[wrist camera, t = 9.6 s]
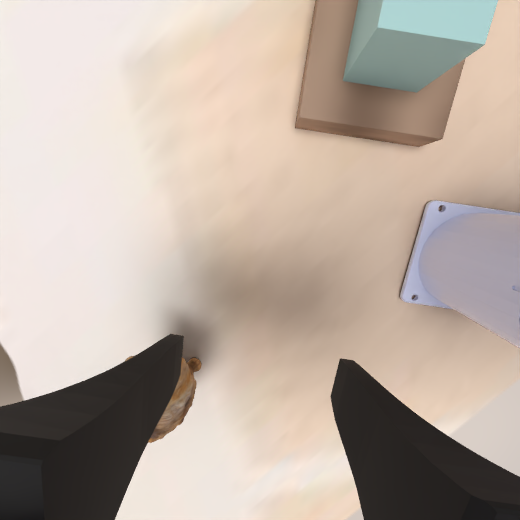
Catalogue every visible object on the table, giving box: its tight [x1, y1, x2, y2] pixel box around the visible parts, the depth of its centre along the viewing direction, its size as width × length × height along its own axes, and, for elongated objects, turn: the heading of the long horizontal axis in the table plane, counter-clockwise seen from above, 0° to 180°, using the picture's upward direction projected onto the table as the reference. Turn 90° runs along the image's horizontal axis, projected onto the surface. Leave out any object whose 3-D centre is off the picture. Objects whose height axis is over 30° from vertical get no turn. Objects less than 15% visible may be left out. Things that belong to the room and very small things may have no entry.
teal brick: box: [343, 0, 498, 93], centre depth 13 cm, size 4×4×5 cm
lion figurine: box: [125, 356, 201, 443], centre depth 19 cm, size 15×5×9 cm, turn 146°
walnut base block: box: [295, 0, 465, 147], centre depth 16 cm, size 9×9×2 cm
